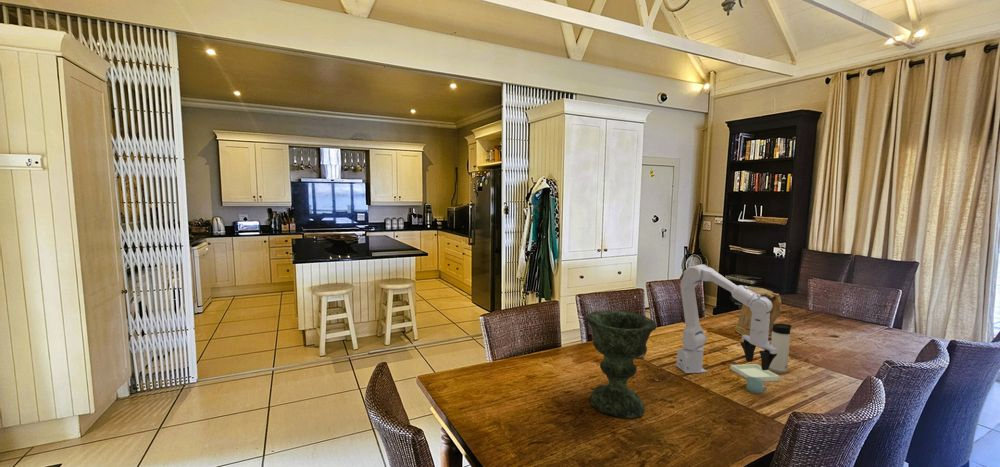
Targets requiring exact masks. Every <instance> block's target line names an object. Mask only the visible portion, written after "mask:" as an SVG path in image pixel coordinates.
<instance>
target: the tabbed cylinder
mask: <svg viewBox="0 0 1000 467" xmlns="http://www.w3.org/2000/svg"><path fill="white" fill-rule="evenodd" d="M746 390H747V391H749V392H751V393H754V394H762V393H764V391H767V386H765V385H764V382H763V380H762V379H759V378H756V377H747V379H746Z"/></svg>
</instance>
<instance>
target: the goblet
mask: <svg viewBox="0 0 1000 467" xmlns="http://www.w3.org/2000/svg"><path fill="white" fill-rule="evenodd" d="M584 319H585V321H586V323H587V324H589V326H590V330H591V332H592V337H593V341H592V344H593V346H594V347H593V348H595V350H596V351H597V352H598V353H599V354H601V355H603V360H602V361H601V362H600V363H599V368H600V370H601V372H602V374H604V375H606V378H607V381H608V384H601V385H598V386H597V387H595V388H594V389H593V390H592V391H591V394H590V396H589V402H590V404H591V406H593V408H595V409H596V410H597V411H599V412H601V413H603V414H605V415H609V416H612V417H617V418H624V419H625V418H626V419H637V418H640V417H642V416H643V415H644V413H645V405H644V402H643V400H642V398H641V397H640V396H639V394H638V393H637V392H635V391H634V390H632V389H630V388H629V387H627V382H628V380H629V379H630V378H632V377H634V376H635V375H636V374H637V370H638V368H637V366H636V364H635V363H634V359H639V358H638V357H640V356H642V355H643V354H644V353H645V352H646V347H647V343H648V340H649V338H650V335H651V333H652V332H653V331H655V330H656V329H657V327H658V325H657V323H656V322H655V321H654V320H653V319H651V318H649V317H647V316H645V315H642V314H639V313H634V312H629V311H623V310H599V311H593V312H590V313H588V314H587V315H586V316H585V318H584ZM646 353H647V352H646Z"/></svg>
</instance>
